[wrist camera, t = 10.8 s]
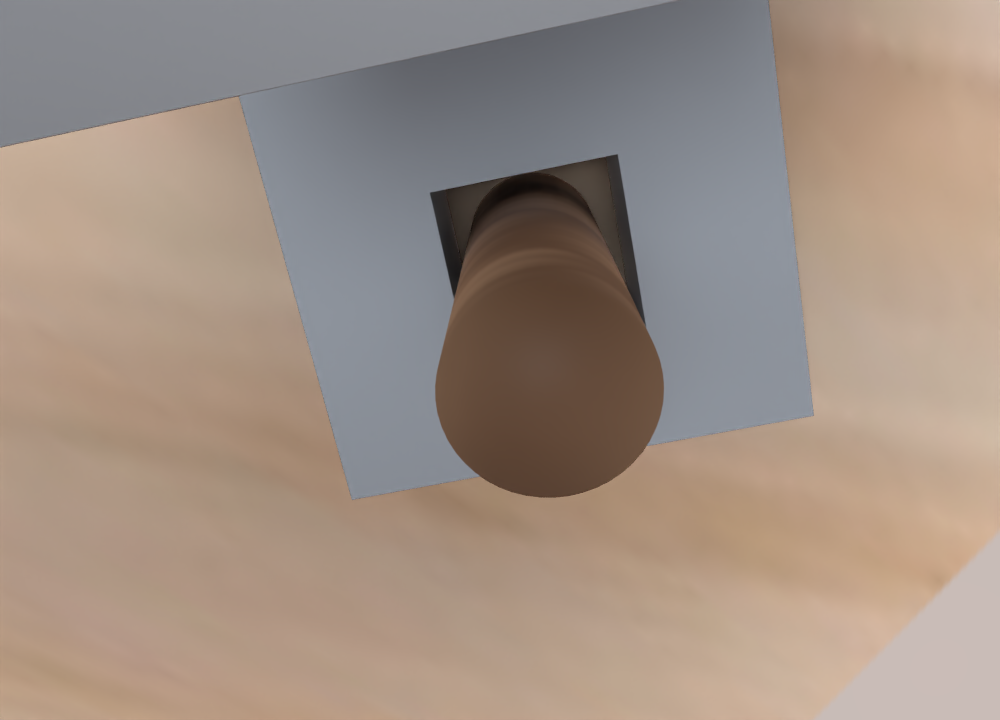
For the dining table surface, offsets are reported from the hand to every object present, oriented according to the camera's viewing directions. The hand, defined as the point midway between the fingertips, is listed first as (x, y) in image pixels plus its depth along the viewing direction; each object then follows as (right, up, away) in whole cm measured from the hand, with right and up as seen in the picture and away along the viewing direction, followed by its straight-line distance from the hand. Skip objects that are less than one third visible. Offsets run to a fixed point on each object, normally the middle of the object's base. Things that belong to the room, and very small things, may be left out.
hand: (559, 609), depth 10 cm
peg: (0, +7, +21) cm, 22 cm away
